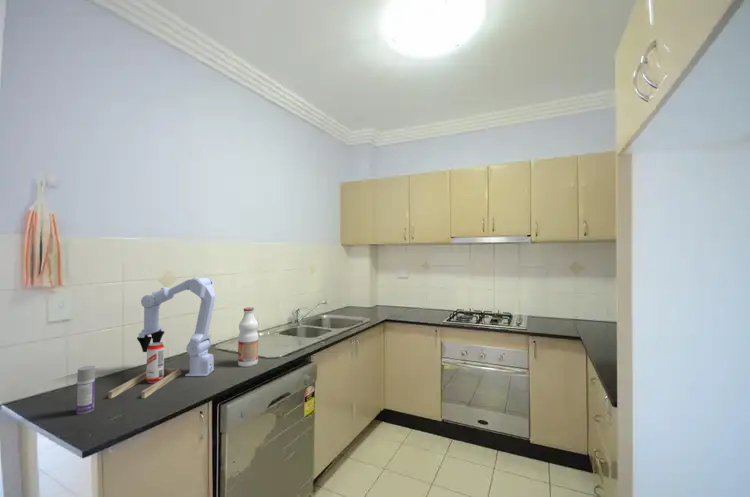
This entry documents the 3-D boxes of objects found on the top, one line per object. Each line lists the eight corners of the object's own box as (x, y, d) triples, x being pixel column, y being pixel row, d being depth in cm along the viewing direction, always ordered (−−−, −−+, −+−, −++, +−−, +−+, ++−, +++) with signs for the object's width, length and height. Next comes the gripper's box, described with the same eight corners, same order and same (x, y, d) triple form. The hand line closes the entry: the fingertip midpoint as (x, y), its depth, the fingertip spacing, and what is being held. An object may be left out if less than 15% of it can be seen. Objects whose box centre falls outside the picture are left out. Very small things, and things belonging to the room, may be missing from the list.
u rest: (181, 374, 150) (181, 368, 150) (144, 398, 125) (144, 391, 125) (151, 374, 150) (151, 368, 150) (108, 398, 125) (108, 391, 125)
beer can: (154, 384, 138) (155, 346, 138) (142, 383, 139) (143, 345, 140) (167, 378, 144) (167, 342, 144) (155, 377, 145) (155, 341, 146)
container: (83, 408, 117) (84, 365, 117) (97, 407, 117) (98, 365, 117) (72, 414, 112) (73, 370, 112) (87, 414, 112) (88, 370, 113)
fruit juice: (250, 367, 159) (251, 309, 160) (233, 366, 161) (234, 309, 162) (261, 361, 168) (262, 306, 169) (245, 360, 170) (246, 306, 171)
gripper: (152, 317, 161) (152, 345, 160) (131, 323, 146) (131, 354, 146) (167, 317, 161) (166, 345, 161) (148, 323, 147) (147, 354, 146)
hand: (151, 349), depth 153 cm, fingers open, 7 cm apart
